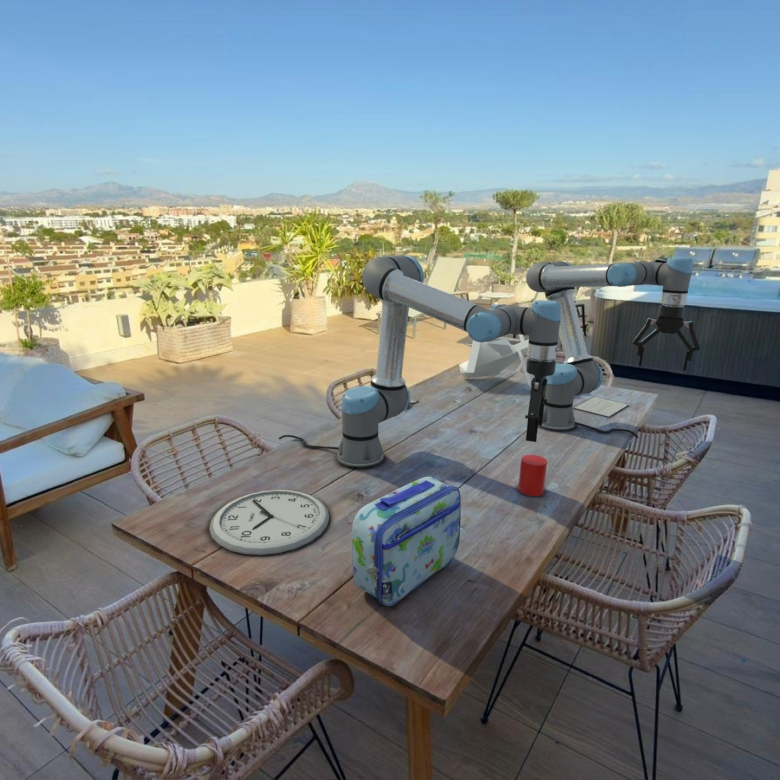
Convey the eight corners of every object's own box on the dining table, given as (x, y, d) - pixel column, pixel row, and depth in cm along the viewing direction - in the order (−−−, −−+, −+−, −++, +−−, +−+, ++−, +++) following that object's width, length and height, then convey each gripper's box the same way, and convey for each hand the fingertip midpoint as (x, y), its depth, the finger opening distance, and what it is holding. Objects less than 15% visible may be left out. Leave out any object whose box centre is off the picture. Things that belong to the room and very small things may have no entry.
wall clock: (327, 546, 121) (194, 551, 119) (327, 552, 122) (195, 557, 119) (330, 485, 150) (223, 488, 147) (330, 490, 150) (224, 493, 148)
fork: (401, 410, 217) (401, 405, 216) (412, 399, 231) (412, 395, 231) (407, 411, 216) (407, 406, 216) (418, 400, 230) (418, 395, 230)
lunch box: (381, 619, 101) (382, 525, 95) (345, 592, 109) (344, 503, 102) (464, 563, 119) (469, 480, 113) (428, 543, 126) (432, 464, 120)
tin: (516, 493, 151) (519, 462, 148) (519, 482, 158) (522, 453, 155) (542, 498, 149) (546, 467, 146) (544, 487, 155) (548, 457, 152)
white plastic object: (480, 420, 263) (459, 397, 239) (461, 347, 286) (440, 319, 261) (551, 396, 251) (537, 369, 226) (526, 322, 273) (511, 290, 249)
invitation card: (608, 416, 214) (573, 407, 224) (608, 416, 214) (573, 408, 224) (628, 404, 229) (594, 396, 238) (628, 405, 229) (594, 397, 238)
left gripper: (551, 371, 128) (543, 450, 135) (559, 350, 151) (552, 420, 157) (520, 368, 131) (513, 446, 137) (533, 348, 153) (526, 416, 159)
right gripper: (631, 304, 174) (622, 365, 181) (717, 309, 165) (704, 374, 171) (631, 301, 181) (622, 360, 187) (714, 306, 172) (701, 369, 178)
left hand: (534, 432), depth 147 cm, fingers open, 13 cm apart
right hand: (661, 367), depth 179 cm, fingers open, 13 cm apart
